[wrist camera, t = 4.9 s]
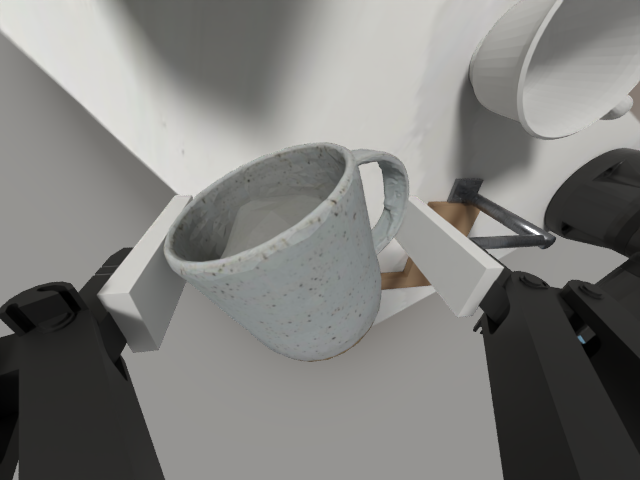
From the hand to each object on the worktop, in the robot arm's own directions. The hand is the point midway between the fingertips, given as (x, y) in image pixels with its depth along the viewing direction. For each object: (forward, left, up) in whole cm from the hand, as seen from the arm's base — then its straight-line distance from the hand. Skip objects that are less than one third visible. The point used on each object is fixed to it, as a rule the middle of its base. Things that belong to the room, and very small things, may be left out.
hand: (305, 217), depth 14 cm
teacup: (-24, -9, -16) cm, 30 cm away
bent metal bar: (-19, +5, -16) cm, 26 cm away
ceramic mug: (0, 0, -1) cm, 1 cm away
